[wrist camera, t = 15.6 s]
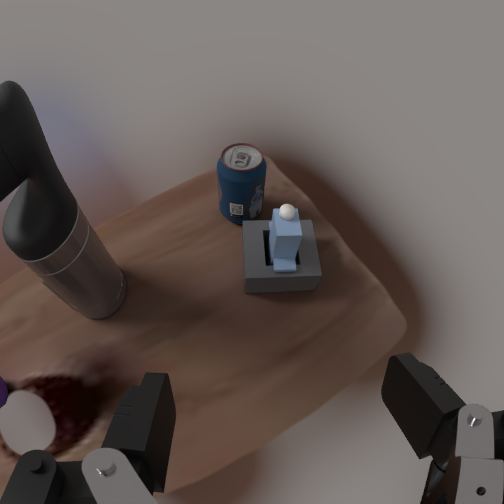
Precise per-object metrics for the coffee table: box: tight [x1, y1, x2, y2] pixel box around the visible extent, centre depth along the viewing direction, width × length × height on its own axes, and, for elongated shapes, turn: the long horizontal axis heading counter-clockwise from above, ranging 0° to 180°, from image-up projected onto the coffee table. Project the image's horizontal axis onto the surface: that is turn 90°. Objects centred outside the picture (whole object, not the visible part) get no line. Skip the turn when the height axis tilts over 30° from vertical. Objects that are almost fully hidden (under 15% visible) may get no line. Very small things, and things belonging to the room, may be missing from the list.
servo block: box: [267, 204, 302, 272], centre depth 40 cm, size 8×3×12 cm, turn 3°
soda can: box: [217, 143, 266, 224], centre depth 45 cm, size 7×7×12 cm
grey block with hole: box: [242, 220, 322, 293], centre depth 43 cm, size 10×9×5 cm
